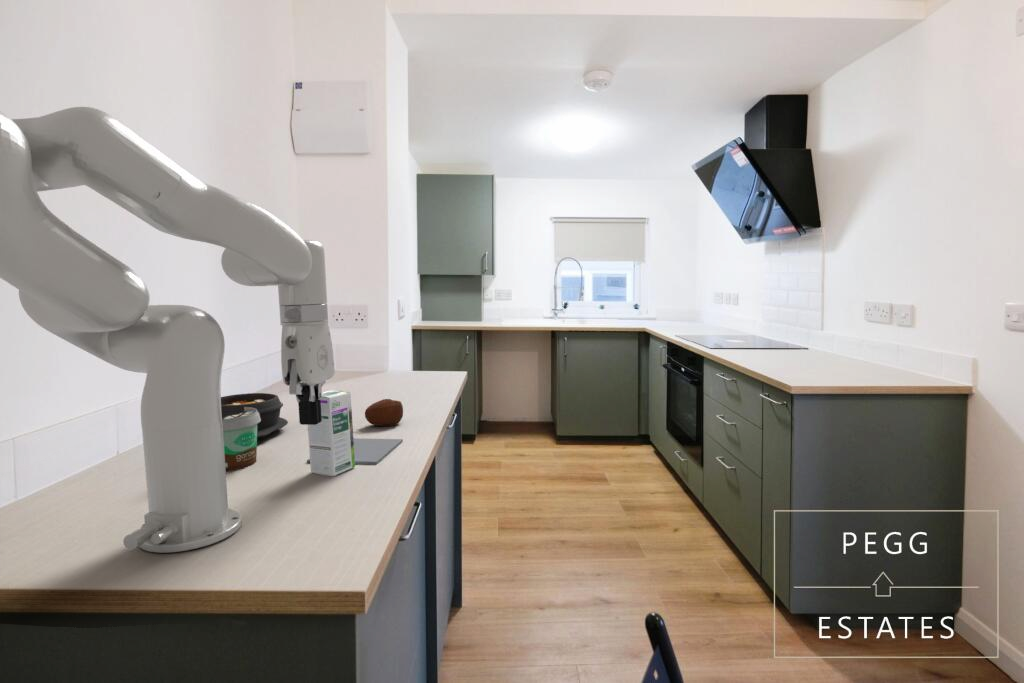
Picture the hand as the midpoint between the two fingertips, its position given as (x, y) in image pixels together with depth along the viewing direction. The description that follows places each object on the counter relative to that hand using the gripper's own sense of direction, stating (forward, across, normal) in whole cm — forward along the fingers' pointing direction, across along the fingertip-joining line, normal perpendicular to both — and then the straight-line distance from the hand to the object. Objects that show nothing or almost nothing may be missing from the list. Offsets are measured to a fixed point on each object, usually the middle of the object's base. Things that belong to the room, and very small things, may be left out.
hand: (310, 423), depth 99 cm
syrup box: (+11, +8, 0) cm, 13 cm away
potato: (+11, +42, +2) cm, 43 cm away
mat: (+11, +20, 0) cm, 22 cm away
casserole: (+11, +32, +32) cm, 47 cm away
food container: (+11, +10, +19) cm, 24 cm away
